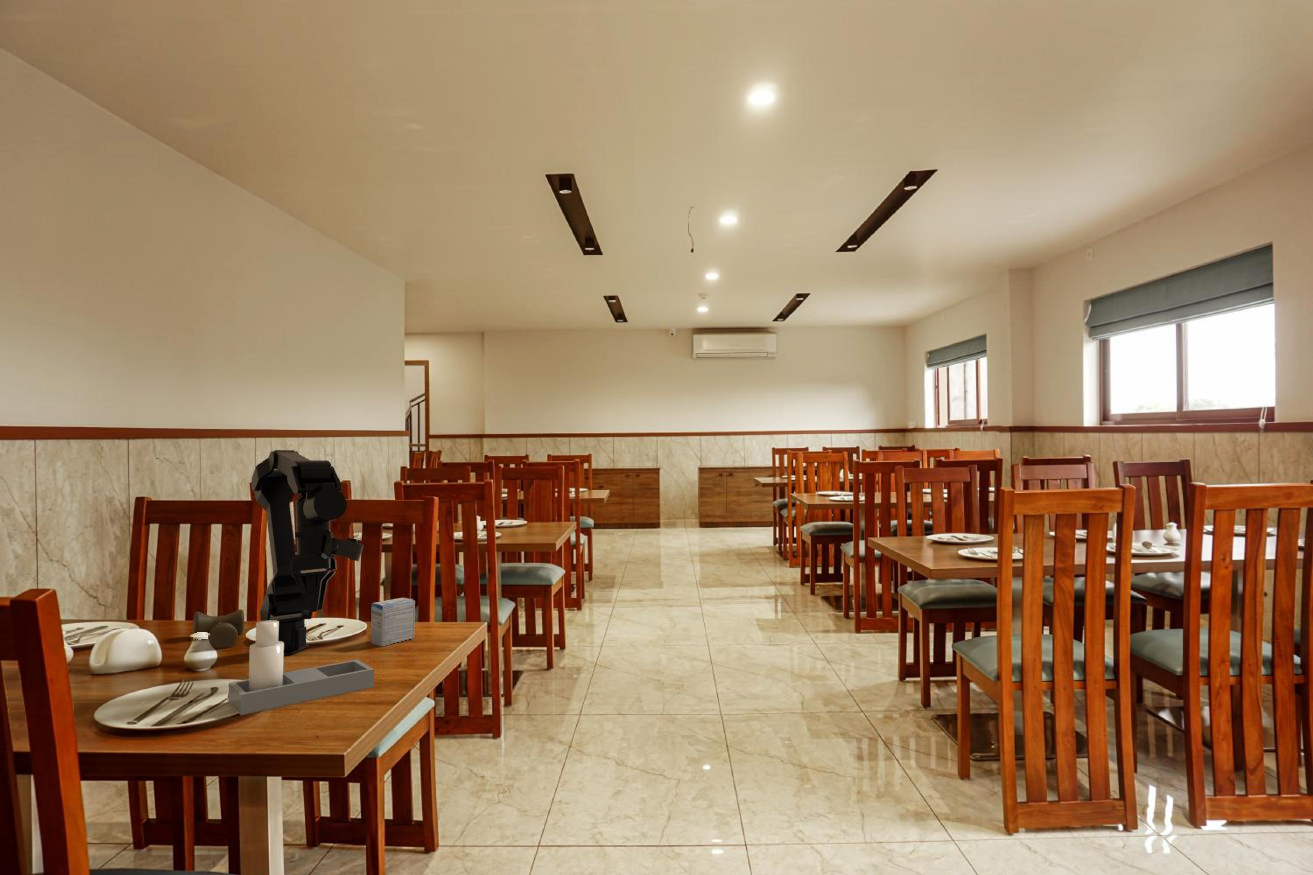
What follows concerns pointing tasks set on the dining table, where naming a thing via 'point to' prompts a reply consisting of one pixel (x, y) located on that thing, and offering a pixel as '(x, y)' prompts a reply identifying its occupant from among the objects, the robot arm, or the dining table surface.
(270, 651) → the white stepped cylinder
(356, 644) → the dining table surface
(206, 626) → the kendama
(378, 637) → the medicine box
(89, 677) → the dining table surface
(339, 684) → the caddy
